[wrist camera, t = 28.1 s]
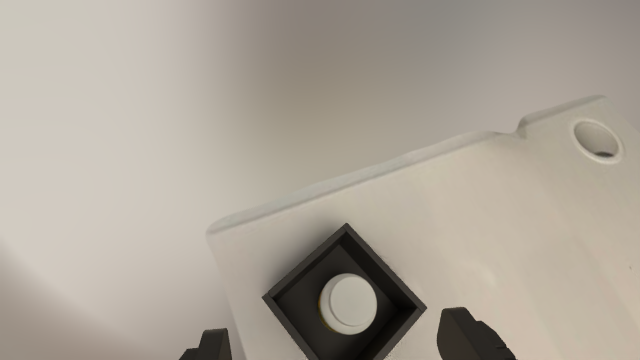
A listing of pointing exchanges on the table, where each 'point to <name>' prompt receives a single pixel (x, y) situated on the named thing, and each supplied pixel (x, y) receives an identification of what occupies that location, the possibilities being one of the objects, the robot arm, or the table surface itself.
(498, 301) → the table surface
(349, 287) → the supplement bottle
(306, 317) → the basket
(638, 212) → the table surface
